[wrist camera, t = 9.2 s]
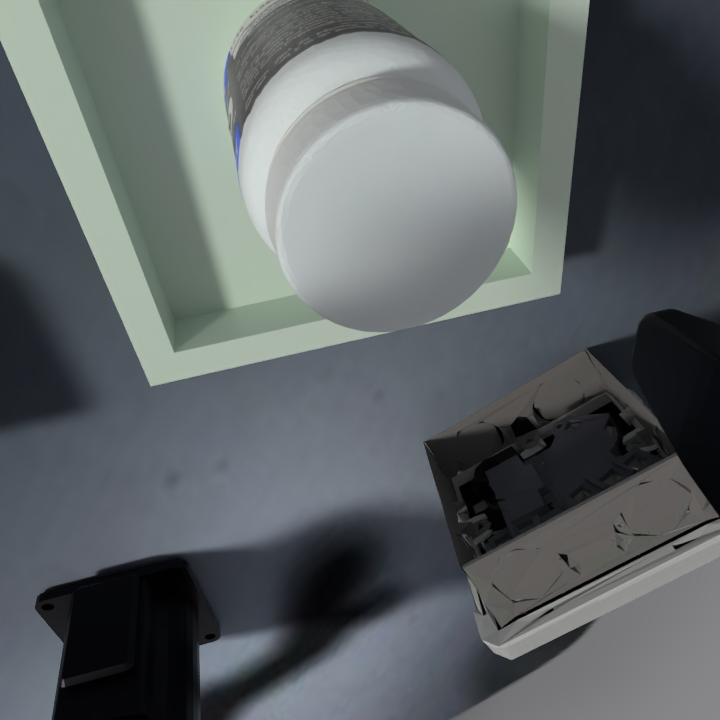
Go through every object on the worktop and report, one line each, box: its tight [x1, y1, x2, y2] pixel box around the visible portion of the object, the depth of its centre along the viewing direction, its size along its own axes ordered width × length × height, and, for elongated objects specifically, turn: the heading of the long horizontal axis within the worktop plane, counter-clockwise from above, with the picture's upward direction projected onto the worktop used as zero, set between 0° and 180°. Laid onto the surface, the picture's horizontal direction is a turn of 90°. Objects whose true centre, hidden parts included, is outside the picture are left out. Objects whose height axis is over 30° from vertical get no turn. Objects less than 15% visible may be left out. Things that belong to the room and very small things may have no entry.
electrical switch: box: [423, 349, 720, 660], centre depth 23 cm, size 9×5×9 cm, turn 121°
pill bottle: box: [224, 0, 517, 332], centre depth 13 cm, size 5×5×8 cm
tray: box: [0, 0, 590, 386], centre depth 16 cm, size 13×13×2 cm
